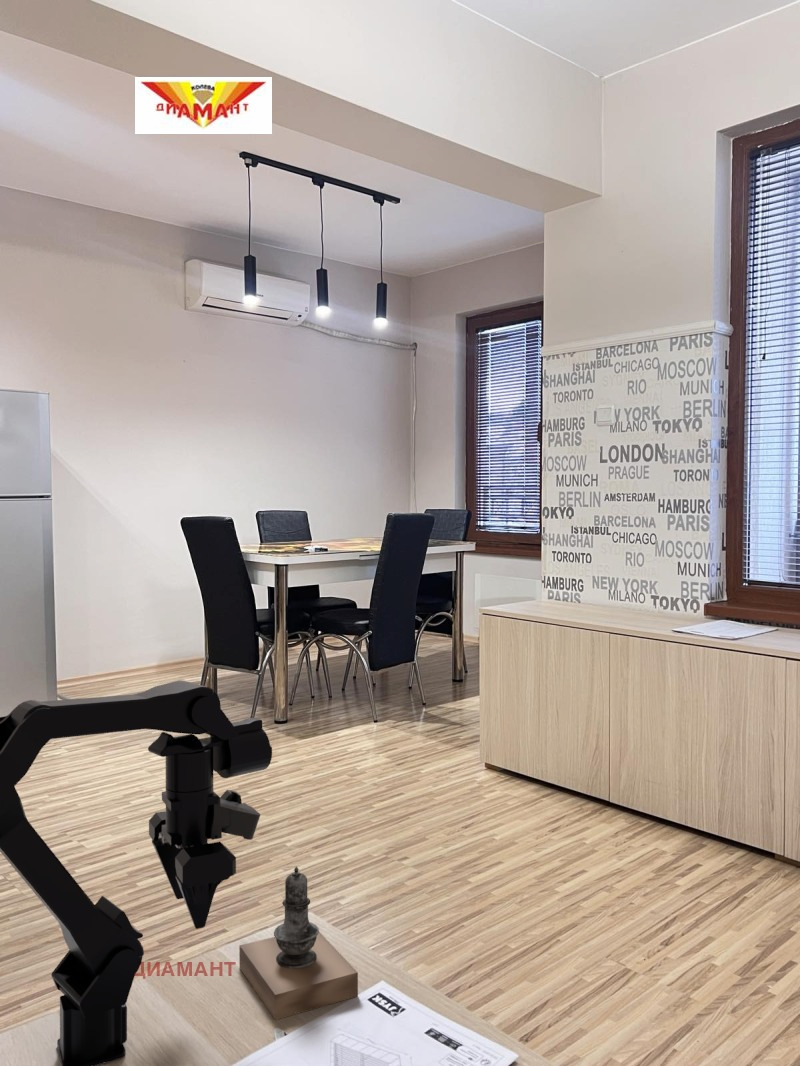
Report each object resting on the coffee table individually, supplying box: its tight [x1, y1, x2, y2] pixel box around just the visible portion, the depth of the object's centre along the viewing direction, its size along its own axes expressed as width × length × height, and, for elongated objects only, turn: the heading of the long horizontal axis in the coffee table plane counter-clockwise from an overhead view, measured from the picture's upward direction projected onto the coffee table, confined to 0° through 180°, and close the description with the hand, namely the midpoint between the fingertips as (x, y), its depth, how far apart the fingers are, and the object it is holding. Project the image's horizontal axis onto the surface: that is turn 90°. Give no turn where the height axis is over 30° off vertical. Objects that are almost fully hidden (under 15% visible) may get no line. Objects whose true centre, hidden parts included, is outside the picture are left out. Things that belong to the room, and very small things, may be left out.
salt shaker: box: [273, 866, 320, 969], centre depth 112 cm, size 6×6×12 cm
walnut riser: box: [238, 931, 359, 1020], centre depth 112 cm, size 11×14×3 cm
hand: (189, 912), depth 105 cm, fingers open, 9 cm apart
